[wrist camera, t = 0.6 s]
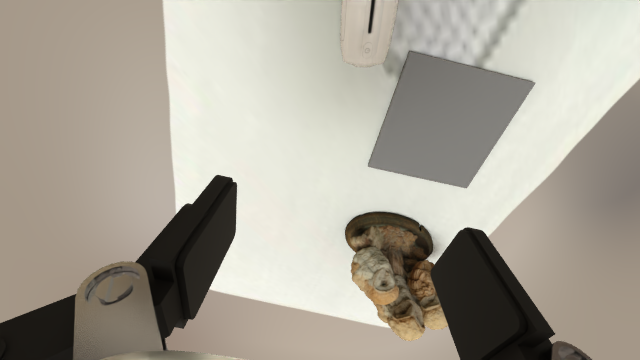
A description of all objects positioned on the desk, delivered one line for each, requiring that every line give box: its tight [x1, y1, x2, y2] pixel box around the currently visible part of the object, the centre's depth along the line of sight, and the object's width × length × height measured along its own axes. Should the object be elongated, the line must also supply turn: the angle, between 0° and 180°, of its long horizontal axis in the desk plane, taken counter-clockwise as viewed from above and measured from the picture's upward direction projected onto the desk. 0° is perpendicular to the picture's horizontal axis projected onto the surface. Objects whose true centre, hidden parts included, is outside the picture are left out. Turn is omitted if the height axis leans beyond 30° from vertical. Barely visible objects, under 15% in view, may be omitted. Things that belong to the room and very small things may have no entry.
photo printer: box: [340, 0, 398, 67], centre depth 22 cm, size 10×4×12 cm, turn 179°
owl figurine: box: [345, 212, 448, 341], centre depth 38 cm, size 18×12×17 cm, turn 71°
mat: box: [368, 51, 535, 188], centre depth 34 cm, size 16×16×1 cm
